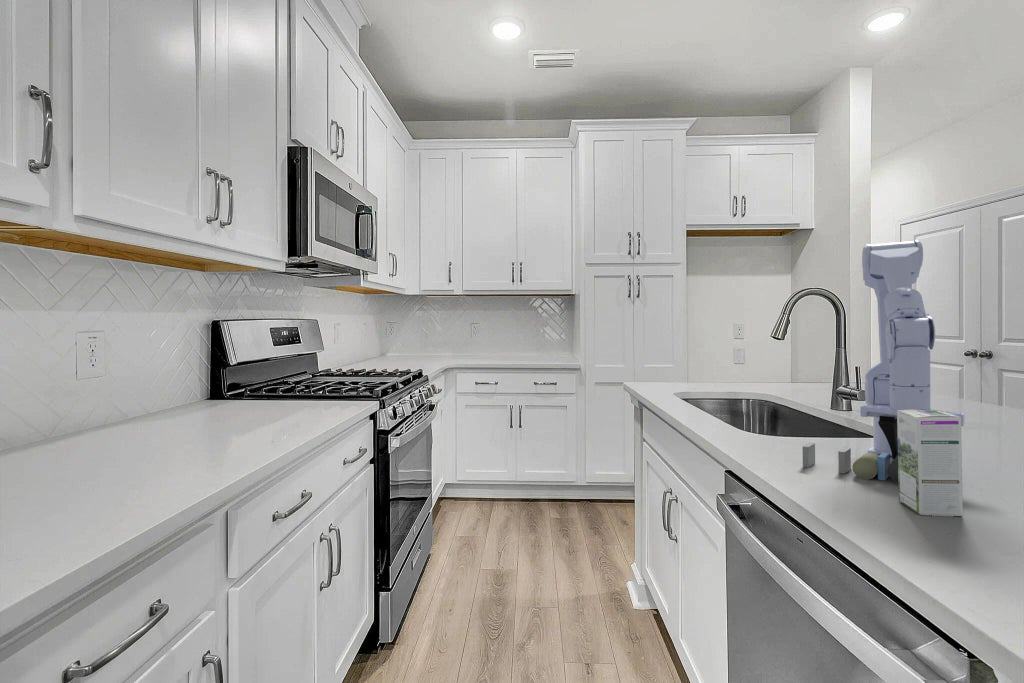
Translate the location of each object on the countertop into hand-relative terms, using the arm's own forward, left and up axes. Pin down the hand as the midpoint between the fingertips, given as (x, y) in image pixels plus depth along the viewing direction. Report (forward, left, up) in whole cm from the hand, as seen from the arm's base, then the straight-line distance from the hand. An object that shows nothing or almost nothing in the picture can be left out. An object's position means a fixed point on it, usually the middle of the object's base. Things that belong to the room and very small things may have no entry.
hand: (909, 460), depth 91 cm
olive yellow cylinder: (+5, -6, -3) cm, 8 cm away
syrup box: (+18, +5, -3) cm, 19 cm away
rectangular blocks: (+5, -6, -3) cm, 8 cm away
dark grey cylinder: (+3, 0, -2) cm, 4 cm away
